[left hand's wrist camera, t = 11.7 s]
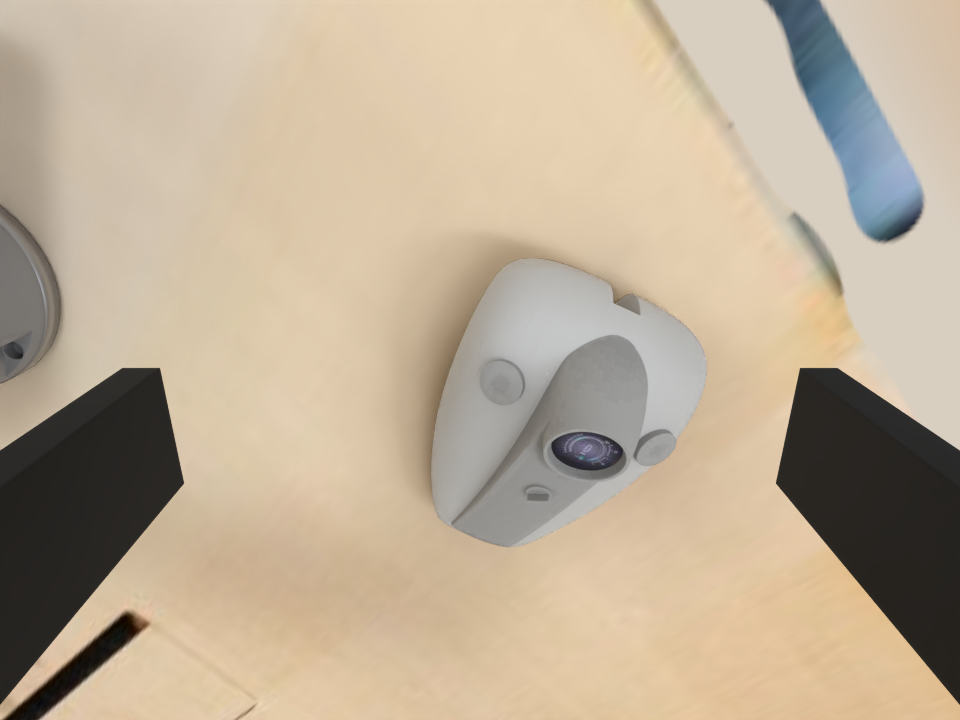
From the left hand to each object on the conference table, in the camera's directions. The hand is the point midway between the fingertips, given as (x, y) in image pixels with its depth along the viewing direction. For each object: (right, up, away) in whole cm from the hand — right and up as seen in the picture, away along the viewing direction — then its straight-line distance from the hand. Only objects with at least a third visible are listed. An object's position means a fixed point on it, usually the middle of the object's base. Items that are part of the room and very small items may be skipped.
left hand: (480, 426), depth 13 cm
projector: (+5, -2, +35) cm, 35 cm away
